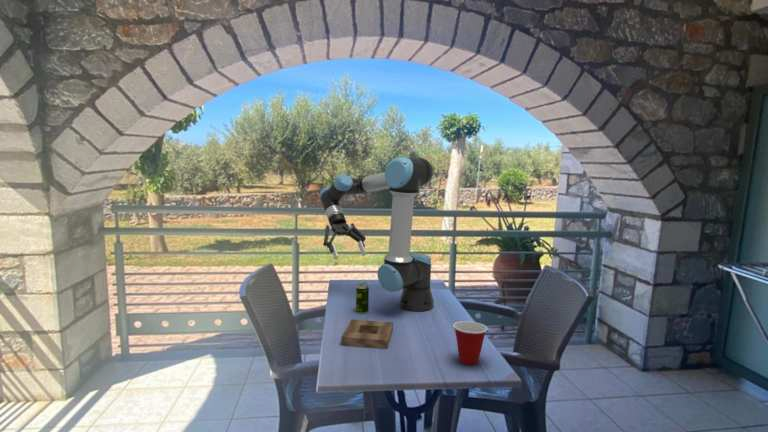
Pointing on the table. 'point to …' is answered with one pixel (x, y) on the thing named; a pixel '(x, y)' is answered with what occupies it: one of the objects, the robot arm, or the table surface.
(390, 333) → the socket block
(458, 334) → the plastic cup
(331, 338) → the table surface
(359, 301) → the beer can
